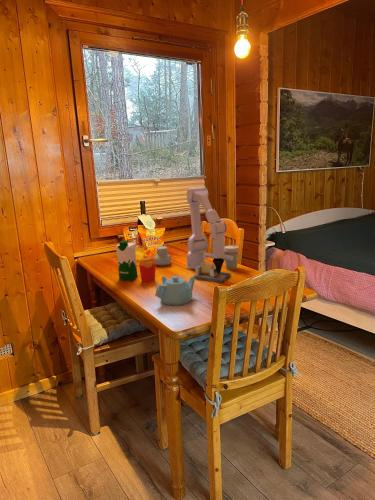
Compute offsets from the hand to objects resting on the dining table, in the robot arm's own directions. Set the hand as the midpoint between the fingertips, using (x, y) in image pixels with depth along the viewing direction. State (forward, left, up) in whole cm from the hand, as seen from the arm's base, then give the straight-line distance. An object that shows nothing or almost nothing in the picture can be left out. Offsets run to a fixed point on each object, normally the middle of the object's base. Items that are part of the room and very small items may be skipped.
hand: (218, 272), depth 182 cm
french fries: (-31, -17, -3) cm, 35 cm away
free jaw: (-2, 0, -1) cm, 3 cm away
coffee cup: (-1, +18, -3) cm, 18 cm away
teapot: (-5, -33, -3) cm, 34 cm away
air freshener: (-40, +10, -3) cm, 41 cm away
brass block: (-6, 0, -2) cm, 6 cm away
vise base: (-4, 0, -3) cm, 5 cm away
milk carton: (-43, -18, -3) cm, 47 cm away
